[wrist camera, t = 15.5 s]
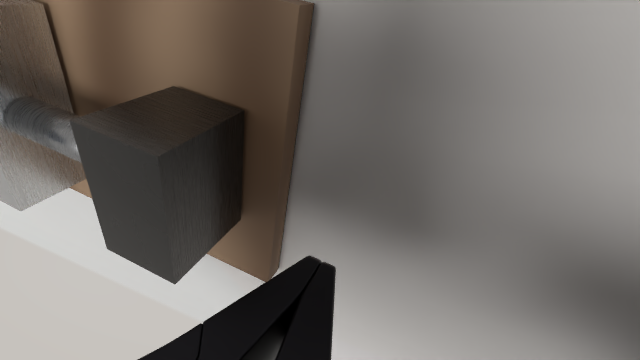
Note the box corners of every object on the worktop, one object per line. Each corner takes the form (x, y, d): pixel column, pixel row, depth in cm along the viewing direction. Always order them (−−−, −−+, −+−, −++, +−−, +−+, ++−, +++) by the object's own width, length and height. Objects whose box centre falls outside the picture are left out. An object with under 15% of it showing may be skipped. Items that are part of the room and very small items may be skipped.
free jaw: (246, 66, 10) (149, 99, 7) (240, 244, 15) (178, 310, 12) (-10, -13, 13) (-156, -12, 10) (50, 157, 18) (-38, 192, 15)
